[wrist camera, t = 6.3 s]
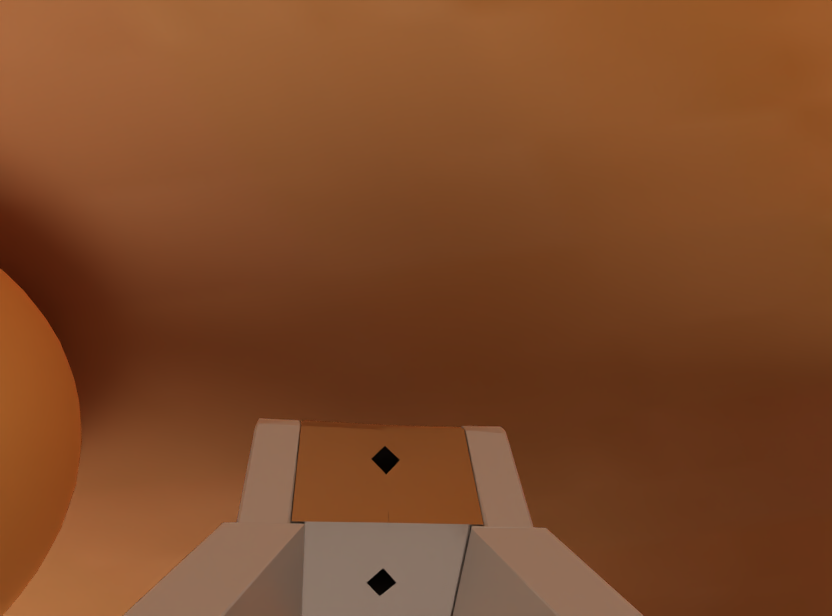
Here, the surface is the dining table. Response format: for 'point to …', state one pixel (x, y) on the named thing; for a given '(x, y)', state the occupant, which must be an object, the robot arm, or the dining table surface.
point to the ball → (32, 439)
